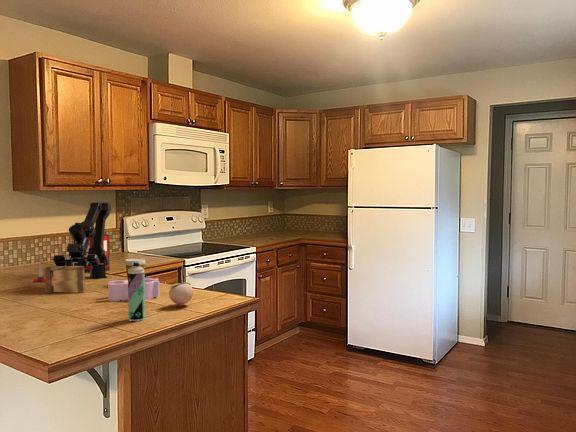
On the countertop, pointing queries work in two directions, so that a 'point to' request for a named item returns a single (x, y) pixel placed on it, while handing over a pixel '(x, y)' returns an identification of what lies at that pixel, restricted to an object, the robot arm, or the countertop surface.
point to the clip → (120, 289)
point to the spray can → (136, 292)
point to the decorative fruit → (181, 293)
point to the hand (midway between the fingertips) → (72, 276)
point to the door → (65, 280)
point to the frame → (49, 269)
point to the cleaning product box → (105, 246)
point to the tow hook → (40, 273)
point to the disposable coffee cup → (130, 263)
